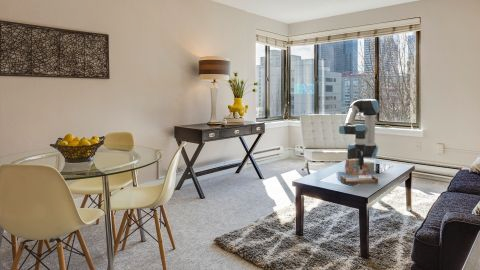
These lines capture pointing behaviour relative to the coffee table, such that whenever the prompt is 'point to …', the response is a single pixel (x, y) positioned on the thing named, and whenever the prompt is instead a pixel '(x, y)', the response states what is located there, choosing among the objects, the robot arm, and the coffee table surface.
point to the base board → (360, 180)
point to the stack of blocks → (353, 167)
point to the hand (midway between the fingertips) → (359, 172)
